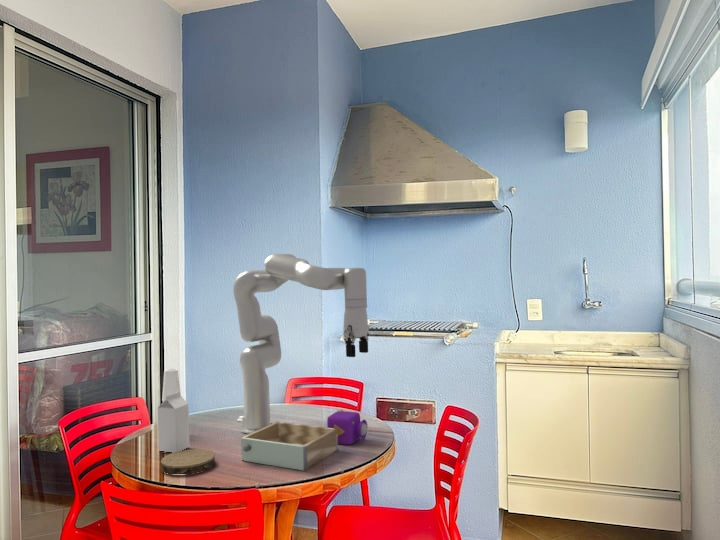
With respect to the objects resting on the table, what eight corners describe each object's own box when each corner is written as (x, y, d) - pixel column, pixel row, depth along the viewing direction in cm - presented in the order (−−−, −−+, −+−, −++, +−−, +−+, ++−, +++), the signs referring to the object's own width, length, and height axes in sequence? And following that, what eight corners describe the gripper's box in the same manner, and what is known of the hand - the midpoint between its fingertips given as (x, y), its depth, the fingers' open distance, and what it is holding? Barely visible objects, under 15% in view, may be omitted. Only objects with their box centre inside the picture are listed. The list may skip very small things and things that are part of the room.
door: (238, 461, 173) (238, 439, 173) (244, 459, 175) (243, 437, 175) (303, 472, 162) (302, 448, 162) (308, 469, 164) (307, 446, 164)
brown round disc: (163, 480, 161) (162, 469, 161) (159, 463, 175) (159, 453, 175) (218, 470, 167) (218, 460, 167) (210, 455, 181) (210, 446, 181)
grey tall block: (167, 438, 200) (165, 372, 200) (160, 434, 205) (158, 370, 205) (185, 434, 205) (183, 369, 205) (177, 430, 210) (175, 367, 210)
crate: (243, 459, 176) (242, 437, 176) (277, 441, 193) (277, 421, 193) (307, 469, 165) (306, 446, 165) (338, 450, 182) (337, 428, 182)
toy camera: (365, 447, 184) (364, 417, 184) (325, 445, 187) (324, 416, 187) (371, 437, 195) (370, 409, 195) (333, 436, 198) (332, 408, 198)
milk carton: (189, 447, 189) (188, 392, 189) (176, 454, 183) (174, 396, 183) (172, 445, 192) (170, 391, 192) (158, 452, 185) (157, 395, 185)
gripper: (357, 302, 197) (358, 350, 197) (333, 306, 181) (335, 358, 181) (376, 302, 194) (378, 351, 194) (354, 306, 178) (355, 359, 178)
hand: (357, 354), depth 187 cm, fingers open, 9 cm apart
